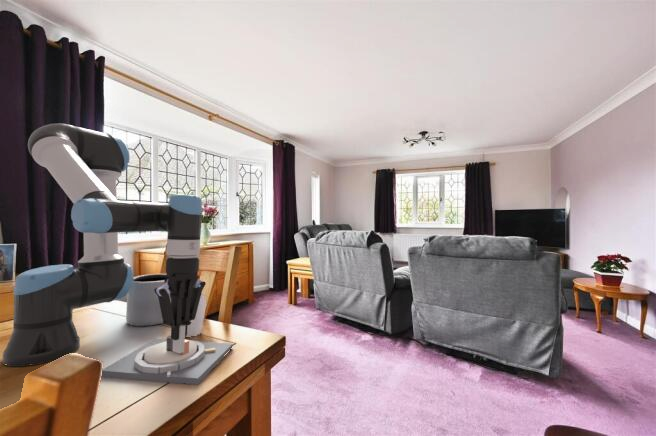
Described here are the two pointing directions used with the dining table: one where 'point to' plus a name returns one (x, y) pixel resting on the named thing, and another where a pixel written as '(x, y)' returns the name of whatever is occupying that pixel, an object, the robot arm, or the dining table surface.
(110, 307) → the dining table surface
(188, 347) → the dial
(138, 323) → the planter
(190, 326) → the cup
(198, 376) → the panel
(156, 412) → the dining table surface
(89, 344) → the dining table surface
